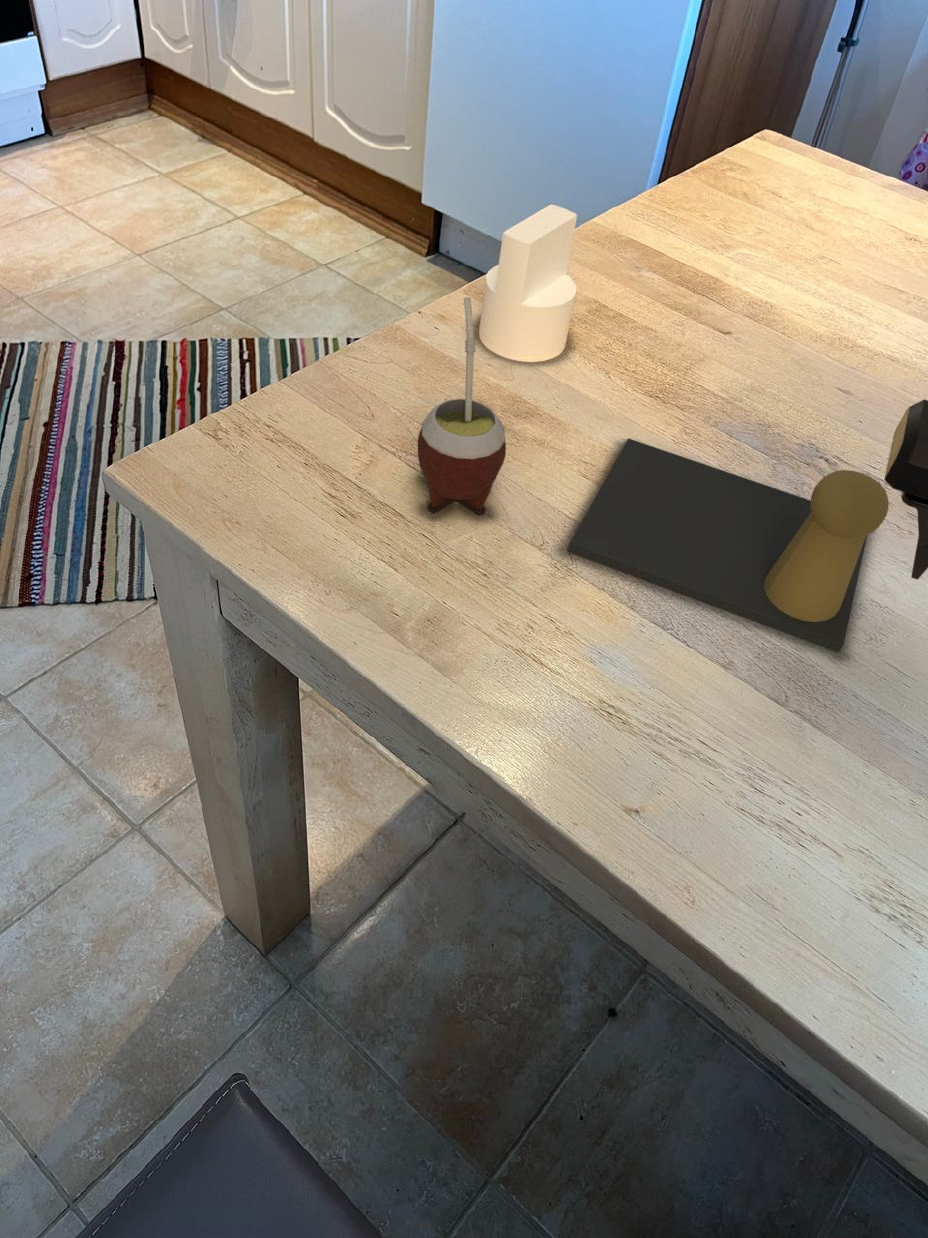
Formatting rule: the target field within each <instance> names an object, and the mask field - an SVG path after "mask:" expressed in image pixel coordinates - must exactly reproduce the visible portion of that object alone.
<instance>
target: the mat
mask: <svg viewBox="0 0 928 1238" xmlns="http://www.w3.org/2000/svg"><path fill="white" fill-rule="evenodd" d="M810 503H811V499H807V498H805V497H802V496H799V495H795V494H794V493H790V492H787V491H784V490H781V489H778V488H775V487H773V486H770V485H766V484H763V483H762V482H761V483H760V482H758V481H754V480H752V479H749V478H746V477H742V476H740V475H737V474H734V473H731V472H728V471H726V470H723V469H720V468H717V467H713V466H711V465H707V464H704V463H702V462H699V461H697V460H693V459H690V458H688V457H684V456H681V455H679V454H676V453H673V452H670V451H667V450H664V449H661V448H658V447H655V446H652V445H649V444H646V443H643V442H640V441H637V440H635V439H632V438H627V440H626V441H625V444H623V447H622V449H621V451H620V452H619V454H618V456H617V458H616V459H615V462H614V463H613V465H612V467H611V469H610V470H609V472H608V474H607V476H606V478H605V479H604V482H603V483H602V485H601V487H600V488H599V490H598V492H597V494H596V495H595V497H594V499H593V501H592V502H591V504H590V507H589V508H588V510H587V512H586V513H585V515H584V517H583V519H582V521H580V524H579V526H578V528H577V530H576V532H575V533H574V535H573V537H572V538H571V541H570V542H569V545H568V549H567V553H570V554H573V555H575V556H577V557H581V558H583V559H586V560H589V561H590V562H593V563H595V564H599V565H602V566H605V567H607V568H610V569H613V570H616V571H618V572H621V573H623V574H626V575H629V576H631V577H634V578H637V579H639V580H643V581H645V582H647V583H650V584H653V585H656V586H658V587H661V588H664V589H666V590H669V591H672V592H675V593H677V594H679V595H683V596H684V597H688V598H690V599H693V600H696V601H698V602H701V603H704V604H707V605H709V606H712V607H715V608H716V609H720V610H723V611H725V612H728V613H731V614H733V615H736V616H738V617H742V618H744V619H747V620H749V621H752V622H755V623H758V624H760V625H763V626H766V627H769V628H771V629H773V630H776V631H778V632H781V633H784V634H787V635H790V636H792V637H795V638H797V639H800V640H802V641H803V640H804V641H806V642H809V643H812V644H814V645H816V646H819V647H822V648H824V649H827V650H831V651H833V652H835V653H840V652H841V650H842V648H843V646H844V644H845V640H846V635H847V630H848V627H849V626H848V625H849V620H850V616H851V612H852V607H853V603H854V598H855V594H856V589H857V585H858V579H859V575H860V570H861V568H862V567H861V566H862V562H863V558H864V557H863V556H864V552H865V549H866V544H867V538H868V535H866V538H865V541H864V543H863V546H862V549H861V552H860V555H859V557H858V560H857V563H856V566H855V568H854V571H853V574H852V577H851V579H850V582H849V585H848V588H847V590H846V593H845V596H844V599H843V602H842V604H841V607H840V610H839V611H838V612H837V614H836V615H835V616H834V617H832V618H830V619H828V620H826V621H820V622H810V621H803V620H800V619H797V618H793V617H791V616H789V615H787V614H786V613H784V612H782V611H780V610H779V609H778V608H777V607H776V606H775V605H774V604H772V603H771V601H770V600H769V598H768V597H767V595H766V593H765V589H764V582H765V577H766V576H767V575H768V573H769V572H770V570H771V569H772V567H773V566H774V565H775V563H776V562H777V560H778V559H779V557H780V556H781V555H782V553H783V552H784V550H785V549H786V547H787V546H788V545H789V543H790V542H791V540H792V539H793V537H794V536H795V535H796V533H797V532H798V530H799V529H800V527H801V526H802V525H803V523H804V522H805V520H806V519H807V517H808V516H809V515H810V513H811V512H812V511H811V508H810Z"/></svg>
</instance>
